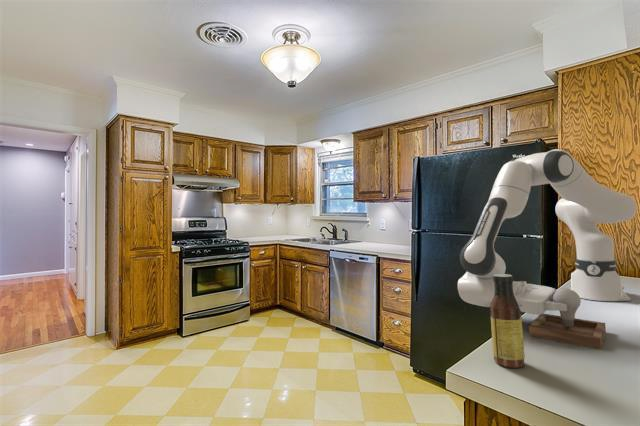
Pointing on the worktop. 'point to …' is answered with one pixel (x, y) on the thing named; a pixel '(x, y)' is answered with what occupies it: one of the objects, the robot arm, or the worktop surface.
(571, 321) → the lightbulb
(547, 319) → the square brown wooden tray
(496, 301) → the sauce bottle
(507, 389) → the worktop surface
